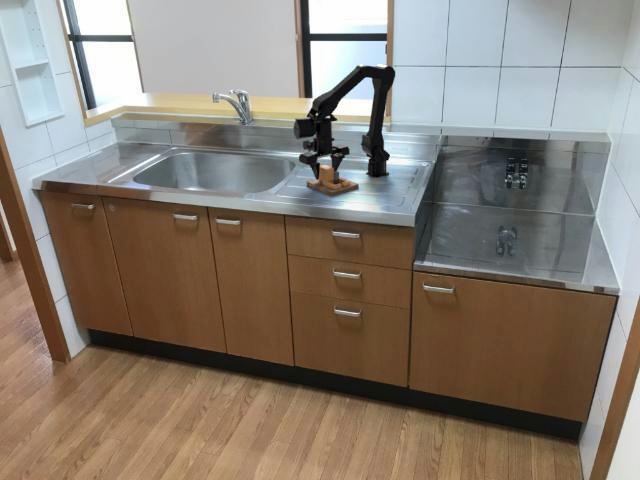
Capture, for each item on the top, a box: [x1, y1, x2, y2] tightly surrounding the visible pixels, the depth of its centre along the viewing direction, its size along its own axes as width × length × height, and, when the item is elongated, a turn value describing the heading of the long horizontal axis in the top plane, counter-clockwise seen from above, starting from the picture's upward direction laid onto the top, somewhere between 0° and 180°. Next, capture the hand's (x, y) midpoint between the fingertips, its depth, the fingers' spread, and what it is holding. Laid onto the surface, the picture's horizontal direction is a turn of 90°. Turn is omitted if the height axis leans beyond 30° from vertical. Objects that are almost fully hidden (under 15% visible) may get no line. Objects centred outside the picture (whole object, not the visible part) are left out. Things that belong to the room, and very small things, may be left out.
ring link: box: [319, 164, 351, 189], centre depth 184 cm, size 12×7×5 cm, turn 36°
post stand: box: [306, 170, 360, 197], centre depth 184 cm, size 15×12×6 cm
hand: (325, 177), depth 187 cm, fingers open, 7 cm apart
